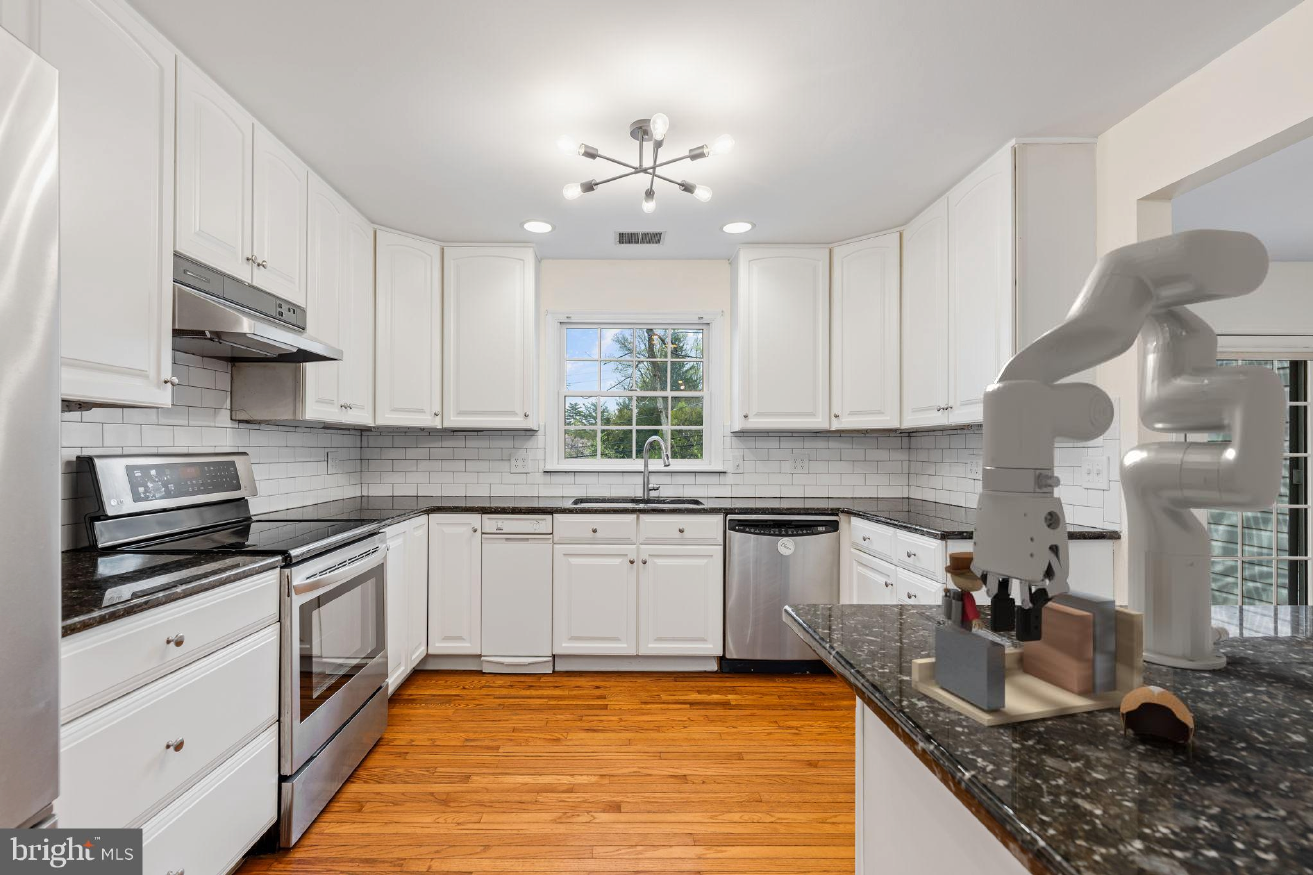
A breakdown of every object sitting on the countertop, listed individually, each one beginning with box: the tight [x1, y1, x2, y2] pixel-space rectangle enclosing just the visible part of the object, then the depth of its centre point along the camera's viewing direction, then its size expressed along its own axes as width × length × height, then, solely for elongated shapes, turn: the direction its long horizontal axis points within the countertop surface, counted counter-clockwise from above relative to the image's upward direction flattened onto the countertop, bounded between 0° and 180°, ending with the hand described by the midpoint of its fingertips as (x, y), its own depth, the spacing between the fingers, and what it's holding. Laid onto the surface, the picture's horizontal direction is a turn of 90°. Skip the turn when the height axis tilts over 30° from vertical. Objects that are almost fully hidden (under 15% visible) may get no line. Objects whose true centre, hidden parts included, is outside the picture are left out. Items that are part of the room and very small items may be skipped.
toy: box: [940, 551, 986, 633], centre depth 90 cm, size 11×7×15 cm, turn 168°
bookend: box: [934, 624, 1006, 711], centre depth 72 cm, size 2×8×7 cm, turn 16°
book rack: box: [911, 588, 1144, 727], centre depth 75 cm, size 23×12×12 cm, turn 106°
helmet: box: [1119, 685, 1195, 764], centre depth 62 cm, size 6×7×8 cm
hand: (1015, 634), depth 74 cm, fingers open, 3 cm apart
